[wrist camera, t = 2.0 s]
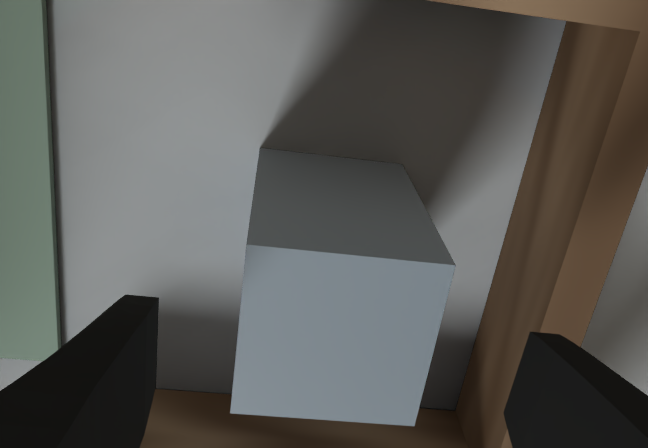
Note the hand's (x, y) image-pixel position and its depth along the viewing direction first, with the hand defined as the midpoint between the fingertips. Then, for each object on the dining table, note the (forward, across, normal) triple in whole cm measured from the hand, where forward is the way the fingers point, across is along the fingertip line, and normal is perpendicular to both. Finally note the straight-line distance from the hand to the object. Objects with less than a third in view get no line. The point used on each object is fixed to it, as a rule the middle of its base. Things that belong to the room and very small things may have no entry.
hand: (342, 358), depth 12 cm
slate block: (+7, 0, 0) cm, 7 cm away
